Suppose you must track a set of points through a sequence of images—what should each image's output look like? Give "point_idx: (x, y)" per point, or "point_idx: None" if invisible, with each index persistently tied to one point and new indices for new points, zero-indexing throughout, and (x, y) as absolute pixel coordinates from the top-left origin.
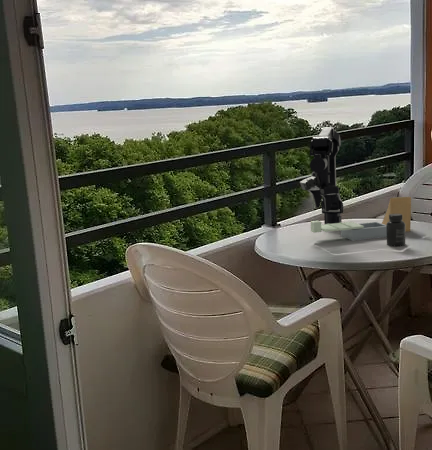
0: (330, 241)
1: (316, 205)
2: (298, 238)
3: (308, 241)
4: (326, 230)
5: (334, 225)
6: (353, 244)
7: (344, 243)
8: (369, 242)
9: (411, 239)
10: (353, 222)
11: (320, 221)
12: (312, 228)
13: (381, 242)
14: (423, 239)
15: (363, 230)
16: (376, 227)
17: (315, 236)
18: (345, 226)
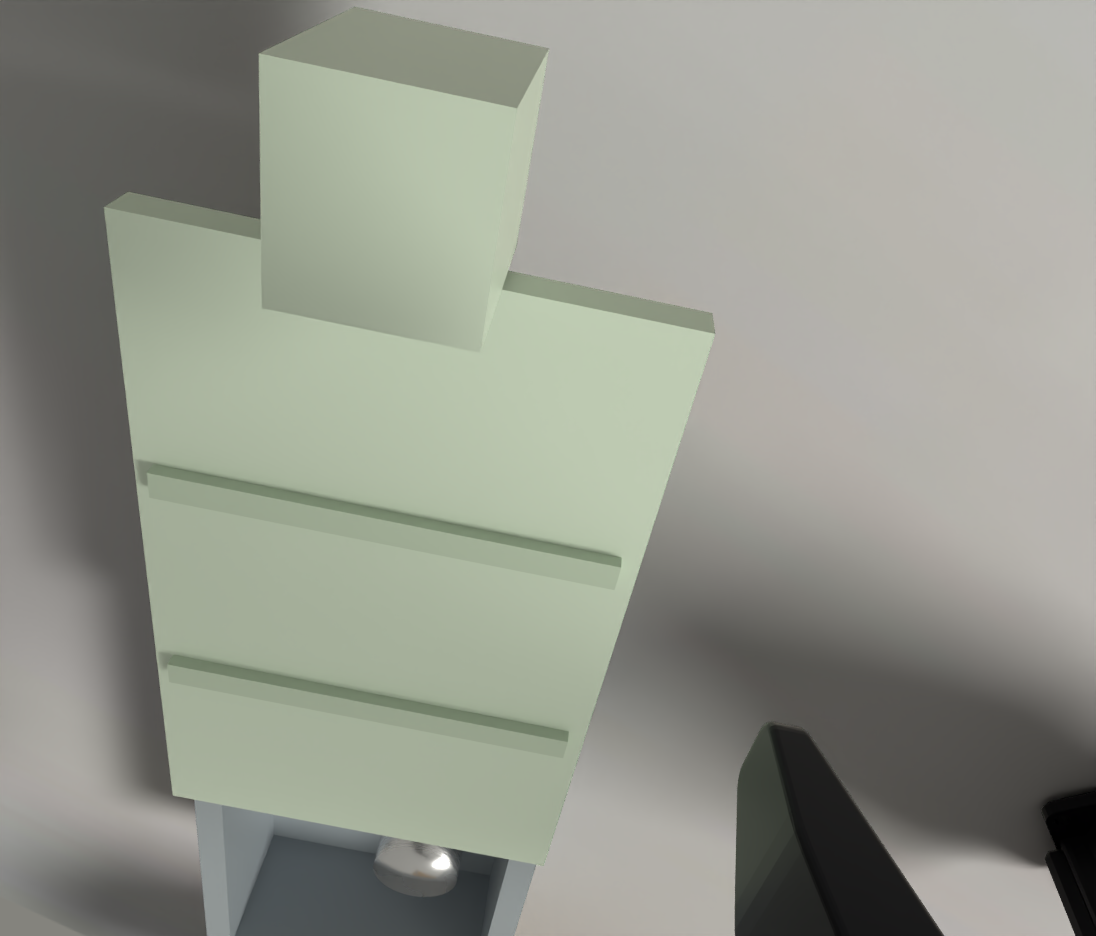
0: None
1: (777, 790)
2: (1065, 19)
3: (685, 26)
4: (112, 221)
5: (443, 582)
6: (119, 451)
7: None
8: (152, 627)
9: (125, 883)
10: (478, 847)
11: (310, 314)
12: (416, 40)
13: (104, 695)
14: (90, 921)
15: None
16: (201, 867)
17: (914, 372)
18: (261, 643)
